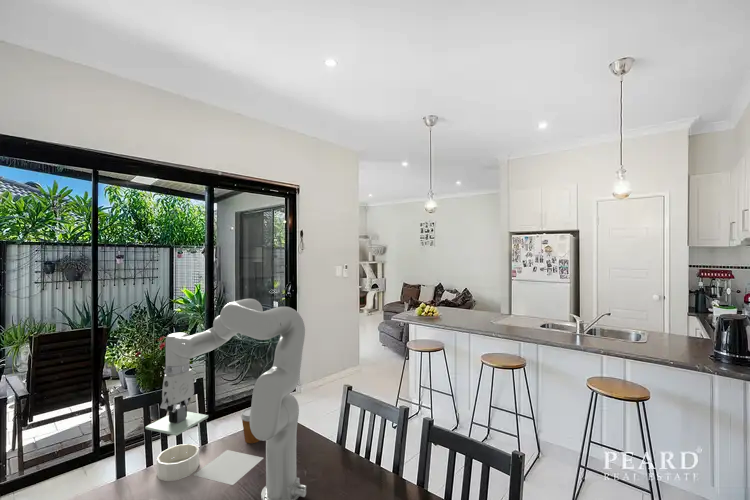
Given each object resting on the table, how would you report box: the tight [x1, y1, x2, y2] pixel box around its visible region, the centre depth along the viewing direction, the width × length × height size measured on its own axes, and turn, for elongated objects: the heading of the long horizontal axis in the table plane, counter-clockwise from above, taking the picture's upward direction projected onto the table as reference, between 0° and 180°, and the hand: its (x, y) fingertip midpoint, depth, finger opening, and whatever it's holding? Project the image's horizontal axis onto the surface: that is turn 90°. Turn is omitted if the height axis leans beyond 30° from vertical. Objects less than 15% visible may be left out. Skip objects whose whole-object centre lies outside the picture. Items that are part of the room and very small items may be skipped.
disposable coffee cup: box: [240, 407, 261, 444], centre depth 153 cm, size 10×10×12 cm
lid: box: [145, 403, 209, 437], centre depth 133 cm, size 14×14×6 cm
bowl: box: [156, 443, 200, 482], centre depth 133 cm, size 13×13×6 cm
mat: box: [193, 449, 264, 486], centre depth 135 cm, size 17×17×1 cm
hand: (178, 419), depth 133 cm, fingers closed on lid, 3 cm apart
